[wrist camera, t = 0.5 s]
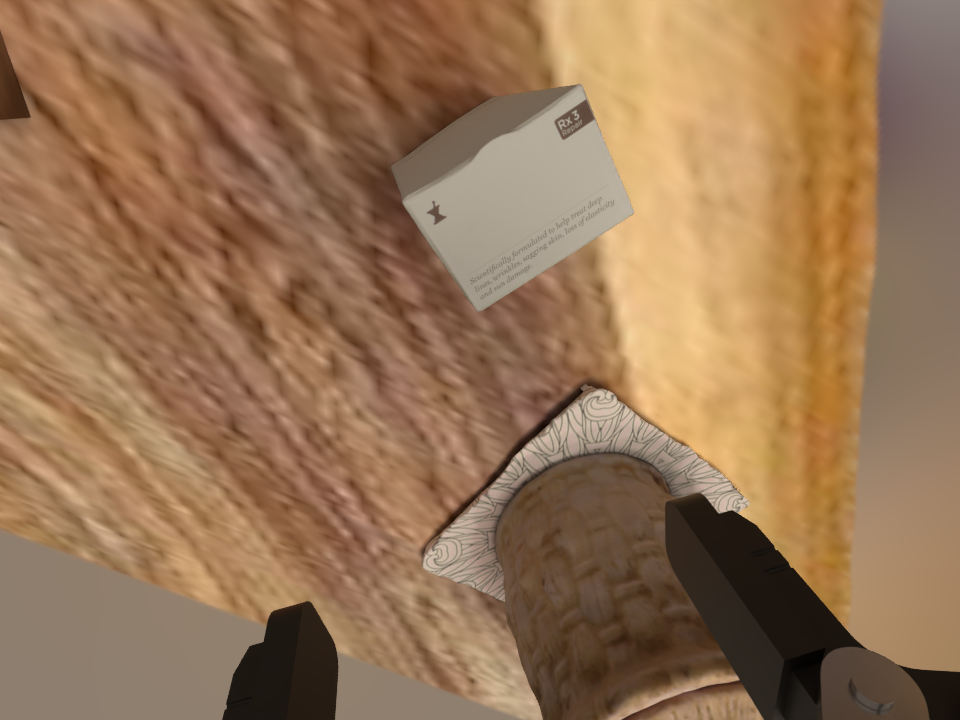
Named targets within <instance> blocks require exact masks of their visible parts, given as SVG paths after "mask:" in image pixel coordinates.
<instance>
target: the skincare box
mask: <svg viewBox="0 0 960 720" xmlns="http://www.w3.org/2000/svg"><path fill="white" fill-rule="evenodd" d="M391 169H392V172H393V174H394V177H395V179H396V182H397V185H398V188H399V190H400V193H401V196H402V204H403V205H404V207H405V208H406V210H407V211H408V213H409V214H410V216H411V217H412V219H413V220H414V222H415V223H416V225H417V227H418V228H419V230H420V231H421V233H422V234H423V236H424V237H425V238H426V240H427V241H428V243H429V244H430V246H431V247H432V249H433V250H434V252H435V253H436V255H437V256H438V257H439V259H440V260H441V262H442V263H443V265H444V266H445V268H446V269H447V270H448V272H449V273H450V275H451V276H452V278H453V279H454V281H455V282H456V284H457V285H458V286H459V288H460V289H461V290H462V292H463V293H464V295H465V296H466V297H467V299H468V300H469V301H470V303H471V304H472V306H473V307H474V308H475V309H476V311H478V312H480V311H482V310H483V309H485V308H487V307H488V306H490V305H492V304H493V303H495V302H496V301H498V300H499V299H501V298H502V297H504V296H506V295H507V294H509V293H510V292H512V291H514V290H515V289H517V288H519V287H520V286H522V285H523V284H525V283H526V282H528V281H529V280H531V279H533V278H534V277H536V276H537V275H539V274H541V273H542V272H544V271H546V270H547V269H549V268H550V267H552V266H553V265H555V264H557V263H558V262H560V261H561V260H563V259H564V258H566V257H568V256H569V255H571V254H572V253H574V252H575V251H577V250H578V249H580V248H582V247H583V246H585V245H586V244H588V243H589V242H591V241H592V240H594V239H596V238H597V237H599V236H600V235H602V234H603V233H605V232H606V231H608V230H609V229H611V228H612V227H614V226H615V225H617V224H619V223H620V222H622V221H623V220H625V219H626V218H628V217H630V216H631V215H633V213H634V210H633V208H632V206H631V203H630V200H629V198H628V195H627V193H626V191H625V188H624V186H623V183H622V181H621V179H620V176H619V174H618V172H617V170H616V167H615V165H614V162H613V160H612V158H611V155H610V153H609V151H608V148H607V146H606V144H605V141H604V139H603V136H602V134H601V131H600V129H599V126H598V124H597V121H596V119H595V116H594V114H593V111H592V109H591V106H590V104H589V101H588V98H587V96H586V93H585V91H584V88H583V86H582V85H581V84H578V85H572V86H565V87H558V88H552V89H545V90H539V91H533V92H526V93H519V94H513V95H506V96H499V97H493V98H491V99H489V100H487V101H485V102H484V103H482V104H480V105H479V106H477V107H476V108H474V109H472V110H471V111H469V112H468V113H466V114H465V115H463V116H462V117H460V118H459V119H457V120H456V121H454V122H453V123H451V124H450V125H448V126H447V127H445V128H444V129H443V130H441V131H440V132H438V133H437V134H436V135H434V136H433V137H431V138H430V139H428V140H427V141H425V142H424V143H423V144H421V145H420V146H419V147H417V148H416V149H415V150H414V151H413V152H411V153H410V154H409V155H407V156H405V157H404V158H402V159H400V160H399V161H397V162H395V163H394V164H392V165H391Z"/></svg>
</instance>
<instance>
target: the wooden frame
mask: <svg viewBox="0 0 960 720" xmlns="http://www.w3.org/2000/svg"><path fill="white" fill-rule="evenodd" d="M29 117H30V115H29V112H28V109H27V106H26V103H25V101H24V98H23V95H22V92H21V89H20V87H19V84H18V81H17V78H16V75H15V73H14V70H13V67H12V64H11V61H10V59H9V56H8V53H7V50H6V47H5V45H4V42H3V39H2V36H1V33H0V120H2V119H15V118H29Z"/></svg>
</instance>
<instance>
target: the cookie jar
mask: <svg viewBox="0 0 960 720" xmlns="http://www.w3.org/2000/svg"><path fill="white" fill-rule="evenodd" d="M580 389H581V390H582V391H583V393H582V394H581V395H580V396H579V397H578V398H576V399H575V400H574V401H573V402H572V403H571V404H570V405H569V406H568V407H567V408H565V409H564V410H563V411H562V412H561V413H560V414H559V415H558V416H556V417H555V418H554V419H553V420H552V421H551V423H550V424H549V425H548V426H546V427H545V428H544V429H543V430H542V431H541V432H540V433H539V434H538V435H537V436H536V437H534V438H533V439H532V440H530V441H529V442H528V443H527V444H526V445H525V446H524V447H523V448H522V449H521V450H520V451H519V452H518V453H517V454H516V455H515V456H514V457H513V458H512V460H511V461H510V463H509V465H508V466H507V467H506V469H505V470H504V471H503V472H502V474H501V475H500V476H499V477H498V478H497V479H496V480H495V481H494V482H493V483H492V484H491V485H490V486H489V487H487V488H486V489H485V490H484V491H483V492H482V493H481V494H480V495H479V496H478V497H477V498H476V499H475V500H474V501H473V502H472V503H471V504H470V505H469V506H468V507H467V508H466V509H465V510H464V511H463V512H462V513H461V514H460V515H459V516H458V517H457V518H456V519H455V520H454V521H453V522H452V523H451V524H450V525H449V526H448V527H447V528H445V529H444V530H443V531H442V532H441V533H440V534H439V535H438V536H436V537H435V538H434V539H432V540H431V541H430V542H429V543H428V545H427V546H426V547H425V553H424V556H423V558H422V566H423V568H424V569H425V570H426V571H428V572H430V573H433V574H436V575H437V576H438V577H446V578H449V579H450V580H453V581H455V582H457V583H461V584H467V585H469V586H470V587H472V588H475V589H477V590H479V591H481V592H484V593H487V594H489V595H491V596H493V597H495V598H496V599H499V600H502V601H503V602H505V612H506V618H507V622H508V625H509V628H510V630H511V632H512V634H513V636H514V638H515V640H516V643H517V648H518V653H519V657H520V661H521V664H522V667H523V669H524V671H525V674H526V676H527V679H528V683H529V685H530V687H531V689H532V691H533V693H534V695H535V697H536V699H537V700H538V703H539V706H540V709H541V713H542V717H543V720H764V719H763V717H762V716H761V714H760V713H759V711H758V709H757V708H756V706H755V704H754V703H753V701H752V699H751V698H750V696H749V694H748V693H747V691H746V690H745V688H744V686H743V685H742V683H741V681H740V680H739V678H738V676H737V675H736V673H735V671H734V670H733V668H732V667H731V665H730V663H729V662H728V660H727V658H726V657H725V655H724V653H723V652H722V650H721V648H720V647H719V645H718V644H717V642H716V640H715V639H714V637H713V635H712V634H711V632H710V630H709V629H708V627H707V625H706V624H705V622H704V621H703V619H702V617H701V616H700V614H699V612H698V611H697V609H696V607H695V606H694V604H693V602H692V601H691V599H690V598H689V596H688V594H687V593H686V591H685V589H684V588H683V586H682V584H681V583H680V581H679V579H678V578H677V576H676V574H675V573H674V571H673V569H672V566H671V564H670V562H669V559H668V556H667V552H666V546H665V504H666V502H667V501H670V500H673V499H677V498H680V497H684V496H687V495H691V494H694V493H701V494H703V495H704V496H705V497H706V498H707V499H708V500H709V502H710V503H711V504H712V505H713V507H714V508H715V509H716V510H717V512H718V513H723V512H726V511H730V510H733V511H735V512H736V513H739V512H740V511H741V510H743V509H744V508H746V507H747V506H748V505H749V501H748V500H747V499H746V498H745V497H744V496H743V495H742V494H740V493H739V492H738V491H737V490H736V489H735V488H734V486H733V485H732V483H731V482H730V481H729V480H728V479H727V478H725V477H724V476H723V475H722V474H721V473H720V472H719V471H718V470H717V469H715V468H713V467H711V466H710V465H709V463H708V462H707V461H705V460H703V459H700V458H699V457H698V456H697V455H696V453H695V452H694V451H693V450H692V449H691V448H690V447H689V446H683V444H681V443H678V442H676V441H674V439H672V438H671V437H669V436H668V435H667V434H665V433H664V432H661V431H660V430H659V429H657V428H656V427H654V426H653V425H650V424H649V423H647V422H646V421H644V420H643V419H642V418H640V417H639V416H638V415H637V414H636V413H634V412H633V411H632V410H631V409H629V408H628V407H627V406H626V405H625V404H624V403H622V402H620V401H618V400H617V397H616V396H615V394H614V393H612V392H610V391H608V390H605V389H603V388H602V389H596V388H594V387H593V386H588V385H586V384H585V385H584V386H582V387H581V388H580Z"/></svg>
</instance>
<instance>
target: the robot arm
mask: <svg viewBox="0 0 960 720" xmlns="http://www.w3.org/2000/svg"><path fill="white" fill-rule="evenodd" d="M665 546H666V552H667V556H668V559H669V562H670V564H671V566H672V569H673V571H674V573H675V574H676V576H677V578H678V579H679V581H680V583H681V584H682V586H683V588H684V589H685V591H686V593H687V594H688V596H689V598H690V599H691V601H692V602H693V604H694V606H695V607H696V609H697V611H698V612H699V614H700V616H701V617H702V619H703V621H704V622H705V624H706V625H707V627H708V629H709V630H710V632H711V634H712V635H713V637H714V639H715V640H716V642H717V644H718V645H719V647H720V648H721V650H722V652H723V653H724V655H725V657H726V658H727V660H728V662H729V663H730V665H731V667H732V668H733V670H734V671H735V673H736V675H737V676H738V678H739V680H740V681H741V683H742V685H743V686H744V688H745V690H746V691H747V693H748V694H749V696H750V698H751V699H752V701H753V703H754V704H755V706H756V708H757V709H758V711H759V713H760V714H761V716H762V717H763V719H764V720H960V672H950V671H949V672H948V671H932V670H919V669H911V668H907V667H903V666H900V665H897V664H895V663H894V662H893V661H891V660H889V659H888V658H886V657H884V656H882V655H880V654H878V653H875V652H873V651H870V650H868V649H866V648H865V647H863V646H862V645H861V644H860V643H859V642H857V641H856V640H855V639H854V638H853V637H852V636H851V635H850V633H849V632H848V631H847V630H846V629H845V628H844V627H843V625H842V624H841V623H840V622H839V621H838V620H837V618H836V617H835V616H834V615H833V614H832V613H831V611H830V610H829V609H828V608H827V607H826V606H825V604H824V603H823V602H822V601H821V600H820V599H819V597H818V596H817V595H816V594H815V593H814V592H813V591H812V589H811V588H810V587H809V586H808V585H807V584H806V582H805V581H804V580H803V579H802V578H801V577H800V575H799V574H798V573H797V572H796V571H795V570H794V568H791V567H790V565H789V563H788V561H787V560H786V559H785V558H784V557H783V556H782V554H781V553H780V552H779V551H778V550H775V548H774V545H773V544H772V543H771V542H770V541H769V539H768V538H767V537H766V536H765V535H764V534H763V532H762V531H761V530H760V529H759V528H758V527H757V525H755V524H754V523H752V522H750V521H749V520H747V519H746V518H744V517H742V516H741V515H739V514H738V513H736V512H735V511H733V510H730V511H726V512H723V513H718V512H717V510H716V509H715V508H714V507H713V505H712V504H711V503H710V502H709V500H708V499H707V498H706V497H705V496H704V495H703V494H701V493H694V494H691V495H687V496H684V497H680V498H677V499H673V500H670V501H667V502H666V504H665ZM337 681H338V657H337V651H336V647H335V644H334V641H333V639H332V637H331V635H330V634H329V632H328V630H327V628H326V627H325V625H324V623H323V622H322V620H321V618H320V616H319V615H318V613H317V611H316V610H315V608H314V606H313V605H312V603H311V602H309V601H307V602H303V603H300V604H296V605H293V606H289V607H286V608H282V609H278V610H275V611H273V612H272V613H271V614H270V616H269V619H268V623H267V628H266V633H265V637H264V642H262V643H259V644H255V645H252V646H250V647H249V648H248V650H247V652H246V653H245V655H244V657H243V659H242V660H241V662H240V664H239V666H238V667H237V669H236V671H235V673H234V674H233V678H232V682H231V686H230V690H229V695H228V699H227V703H226V705H227V709H226V710H225V711H224V715H223V719H222V720H335V710H336V695H337Z"/></svg>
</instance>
